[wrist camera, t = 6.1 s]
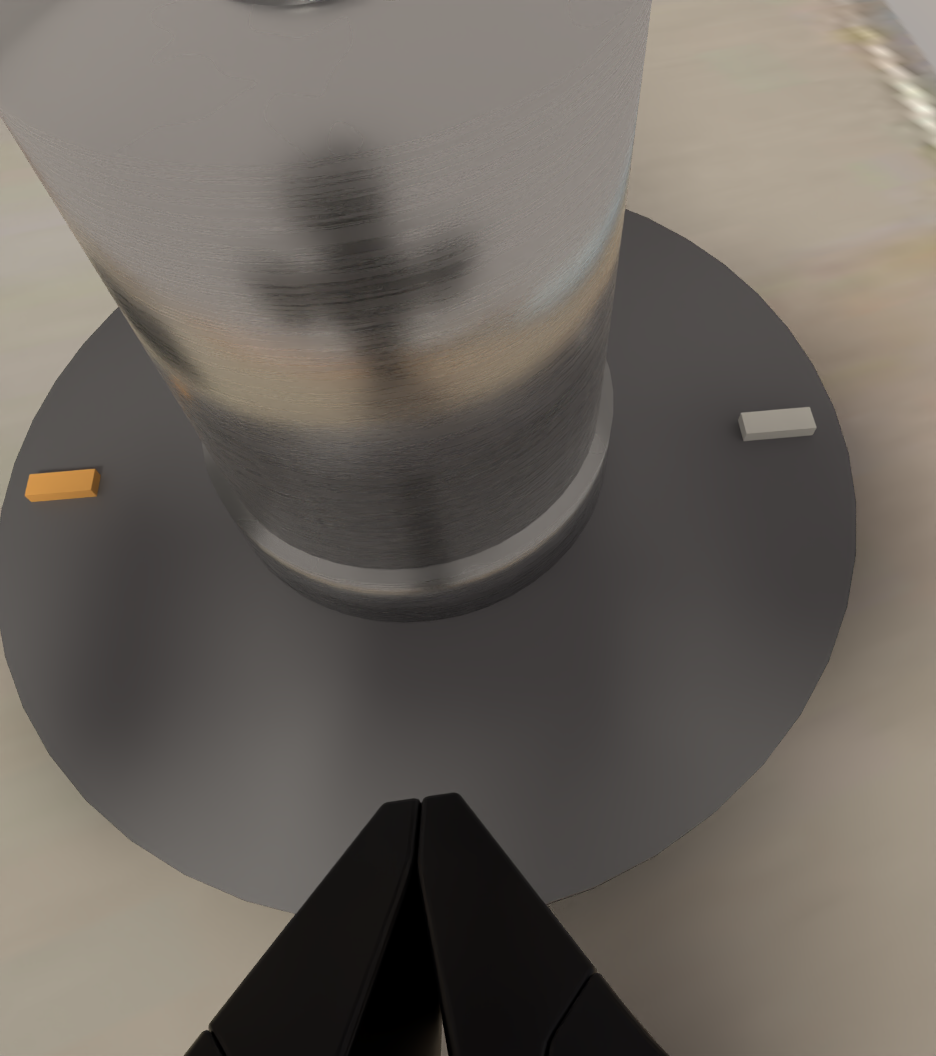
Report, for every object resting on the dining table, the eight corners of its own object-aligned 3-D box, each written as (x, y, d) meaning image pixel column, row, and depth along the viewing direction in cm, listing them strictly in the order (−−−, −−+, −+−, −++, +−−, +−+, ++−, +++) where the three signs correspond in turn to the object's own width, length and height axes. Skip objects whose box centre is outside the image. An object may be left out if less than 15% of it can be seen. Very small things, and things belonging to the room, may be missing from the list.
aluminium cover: (683, 504, 18) (897, -132, 8) (320, 697, 17) (-38, 231, 6) (487, 260, 22) (452, -375, 12) (180, 398, 21) (-182, -196, 10)
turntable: (1045, 615, 17) (1076, 593, 16) (160, 1162, 14) (132, 1176, 13) (555, 118, 26) (556, 86, 25) (-57, 371, 23) (-82, 344, 22)
